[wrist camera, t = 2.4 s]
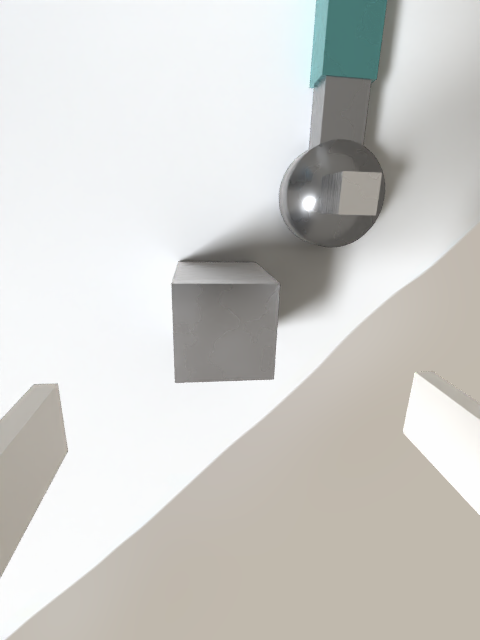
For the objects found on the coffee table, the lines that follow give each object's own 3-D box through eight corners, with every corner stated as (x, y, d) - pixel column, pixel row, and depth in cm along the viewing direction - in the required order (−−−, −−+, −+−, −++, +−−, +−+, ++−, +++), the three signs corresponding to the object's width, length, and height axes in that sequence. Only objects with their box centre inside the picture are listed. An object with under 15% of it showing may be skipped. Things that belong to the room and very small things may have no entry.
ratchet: (361, 244, 27) (404, 254, 22) (275, 243, 26) (297, 252, 21) (408, -105, 21) (488, -221, 15) (297, -122, 20) (338, -253, 14)
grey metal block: (180, 335, 28) (175, 382, 20) (178, 261, 26) (171, 283, 18) (252, 334, 28) (273, 379, 21) (256, 262, 27) (280, 283, 19)
